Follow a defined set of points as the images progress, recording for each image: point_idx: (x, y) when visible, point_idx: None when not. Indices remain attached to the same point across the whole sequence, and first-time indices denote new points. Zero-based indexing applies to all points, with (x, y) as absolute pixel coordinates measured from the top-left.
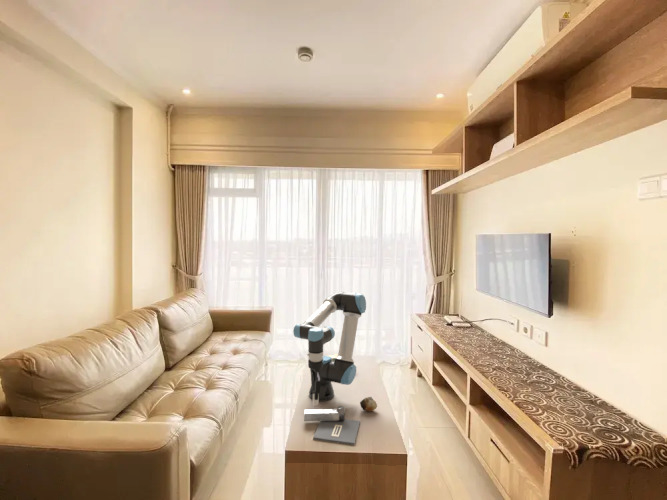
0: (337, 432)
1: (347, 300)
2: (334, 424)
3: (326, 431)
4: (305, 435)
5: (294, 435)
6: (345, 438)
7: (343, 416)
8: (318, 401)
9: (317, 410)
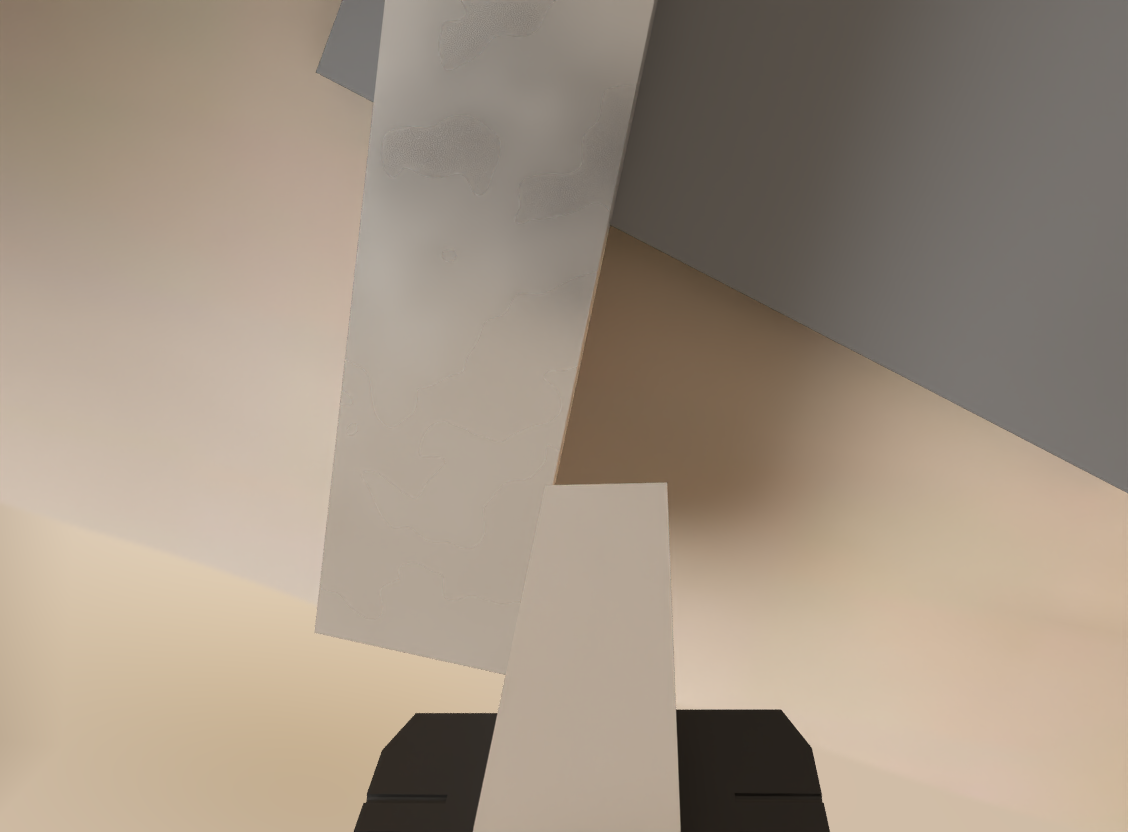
0: None
1: None
2: None
3: (1037, 156)
4: (919, 577)
5: (848, 743)
6: None
7: None
8: (669, 564)
9: (419, 320)
